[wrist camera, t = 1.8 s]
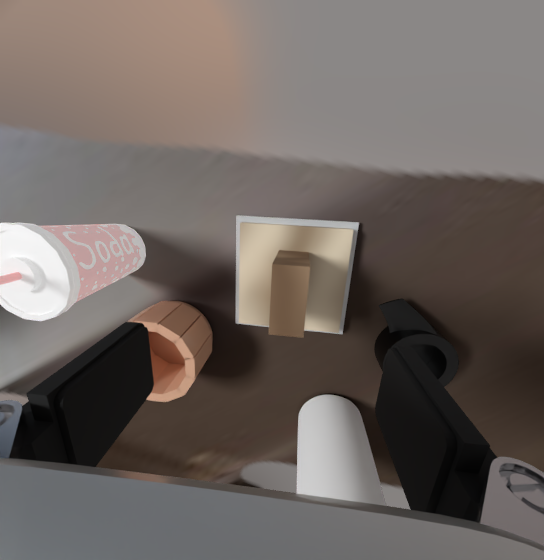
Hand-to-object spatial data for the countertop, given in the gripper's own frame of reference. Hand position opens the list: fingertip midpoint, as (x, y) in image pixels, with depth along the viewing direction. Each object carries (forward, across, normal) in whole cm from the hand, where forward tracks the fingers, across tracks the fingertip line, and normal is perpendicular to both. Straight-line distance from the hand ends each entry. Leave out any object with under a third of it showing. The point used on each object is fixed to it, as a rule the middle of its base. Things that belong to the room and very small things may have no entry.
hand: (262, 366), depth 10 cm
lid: (+13, -1, 0) cm, 13 cm away
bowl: (+14, +10, +7) cm, 18 cm away
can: (+13, -6, +15) cm, 21 cm away
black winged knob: (+14, -12, +6) cm, 19 cm away
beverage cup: (+14, +15, -1) cm, 21 cm away
